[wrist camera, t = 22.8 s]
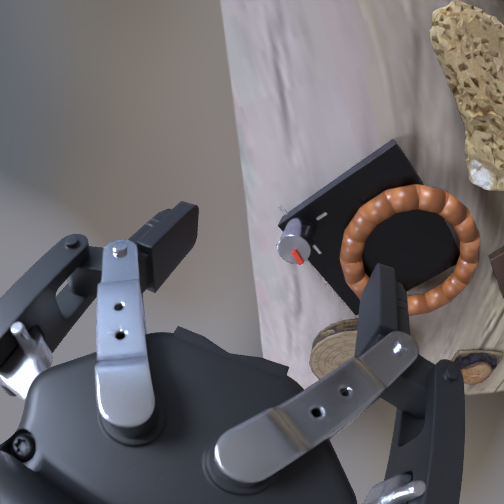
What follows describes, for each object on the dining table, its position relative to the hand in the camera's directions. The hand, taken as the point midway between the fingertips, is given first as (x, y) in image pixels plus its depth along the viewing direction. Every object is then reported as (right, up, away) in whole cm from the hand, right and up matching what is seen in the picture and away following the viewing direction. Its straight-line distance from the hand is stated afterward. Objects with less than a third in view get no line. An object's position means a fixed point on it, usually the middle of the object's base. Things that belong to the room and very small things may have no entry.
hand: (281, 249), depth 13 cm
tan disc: (+17, -17, +35) cm, 43 cm away
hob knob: (+5, +2, +23) cm, 24 cm away
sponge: (+24, +17, +10) cm, 31 cm away
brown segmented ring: (+17, -1, +19) cm, 26 cm away
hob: (+13, +2, +24) cm, 27 cm away
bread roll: (+39, -20, +30) cm, 53 cm away
